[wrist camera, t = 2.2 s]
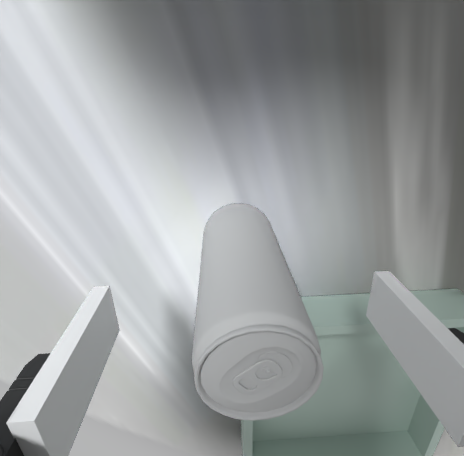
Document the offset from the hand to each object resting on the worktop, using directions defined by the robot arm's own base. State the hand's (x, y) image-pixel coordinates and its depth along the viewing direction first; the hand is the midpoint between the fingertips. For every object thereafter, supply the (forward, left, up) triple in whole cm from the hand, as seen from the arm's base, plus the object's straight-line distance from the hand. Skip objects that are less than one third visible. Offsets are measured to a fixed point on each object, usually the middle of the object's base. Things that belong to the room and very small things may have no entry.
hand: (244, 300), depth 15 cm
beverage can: (0, 0, -7) cm, 7 cm away
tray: (+15, +9, -7) cm, 19 cm away
